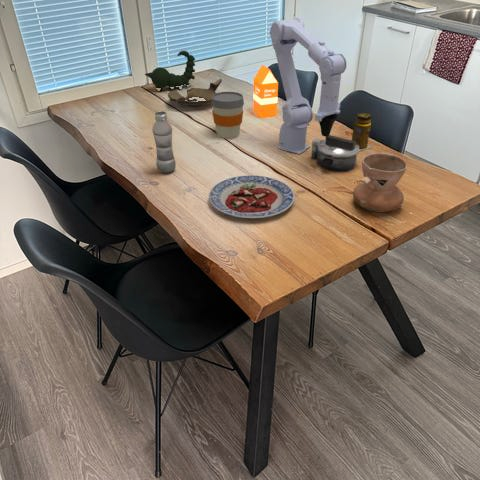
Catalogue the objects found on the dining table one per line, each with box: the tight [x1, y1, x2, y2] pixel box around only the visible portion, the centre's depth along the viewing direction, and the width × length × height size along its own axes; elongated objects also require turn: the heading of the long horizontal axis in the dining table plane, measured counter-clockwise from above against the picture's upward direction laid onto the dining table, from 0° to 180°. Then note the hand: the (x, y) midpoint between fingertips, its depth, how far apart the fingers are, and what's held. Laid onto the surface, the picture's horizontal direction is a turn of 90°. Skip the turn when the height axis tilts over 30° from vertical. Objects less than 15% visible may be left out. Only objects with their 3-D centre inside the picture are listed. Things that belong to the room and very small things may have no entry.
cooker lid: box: [311, 134, 360, 158], centre depth 156 cm, size 16×14×4 cm
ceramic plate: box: [208, 175, 296, 219], centre depth 138 cm, size 26×26×3 cm
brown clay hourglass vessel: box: [352, 152, 408, 213], centre depth 133 cm, size 18×14×14 cm
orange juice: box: [252, 64, 279, 119], centre depth 194 cm, size 8×9×20 cm
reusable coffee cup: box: [210, 91, 245, 139], centre depth 177 cm, size 12×13×15 cm
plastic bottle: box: [152, 110, 177, 174], centre depth 149 cm, size 6×7×20 cm
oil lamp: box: [167, 78, 223, 107], centre depth 210 cm, size 22×30×8 cm
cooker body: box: [310, 143, 358, 173], centre depth 159 cm, size 16×18×5 cm
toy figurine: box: [144, 50, 196, 89], centre depth 224 cm, size 9×19×25 cm
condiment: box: [351, 112, 373, 152], centre depth 168 cm, size 7×8×12 cm
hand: (325, 135), depth 153 cm, fingers closed
